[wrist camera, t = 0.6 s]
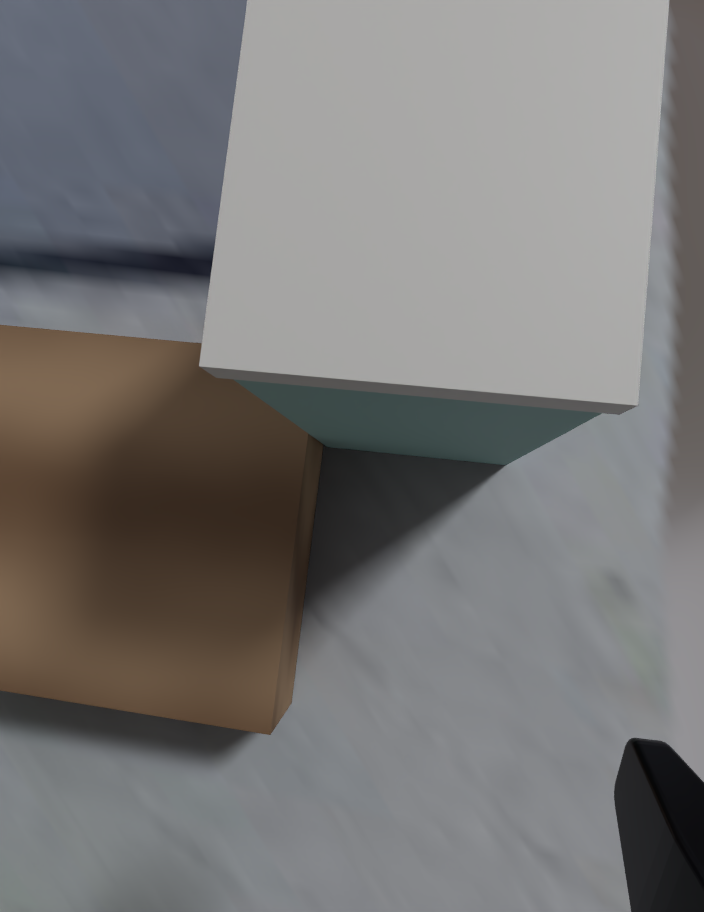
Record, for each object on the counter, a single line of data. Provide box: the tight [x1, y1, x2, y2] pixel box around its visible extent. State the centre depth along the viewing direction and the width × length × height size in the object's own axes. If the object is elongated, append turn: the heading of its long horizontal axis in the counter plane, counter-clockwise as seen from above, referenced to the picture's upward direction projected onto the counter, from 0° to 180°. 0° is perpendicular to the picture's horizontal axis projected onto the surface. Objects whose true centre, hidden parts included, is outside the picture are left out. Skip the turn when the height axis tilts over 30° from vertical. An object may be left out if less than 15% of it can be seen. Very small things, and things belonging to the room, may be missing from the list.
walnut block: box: [0, 325, 323, 735], centre depth 20 cm, size 11×11×3 cm
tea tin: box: [199, 0, 669, 465], centre depth 15 cm, size 6×6×12 cm
